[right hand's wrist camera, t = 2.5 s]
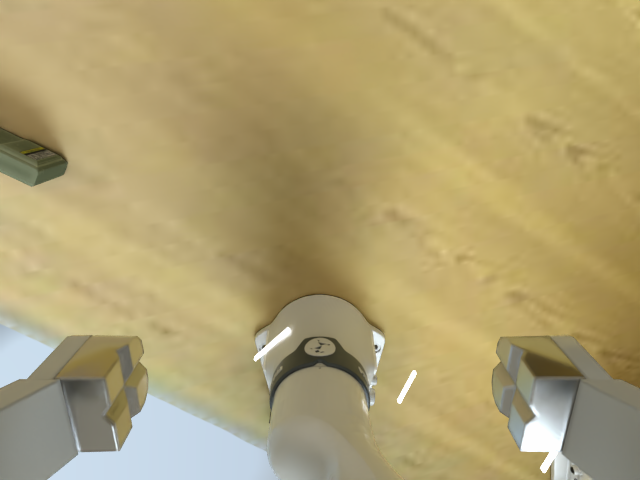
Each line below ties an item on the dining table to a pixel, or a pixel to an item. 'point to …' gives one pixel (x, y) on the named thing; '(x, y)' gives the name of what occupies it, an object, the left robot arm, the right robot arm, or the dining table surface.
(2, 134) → the handheld radio
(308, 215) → the dining table surface
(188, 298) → the dining table surface
